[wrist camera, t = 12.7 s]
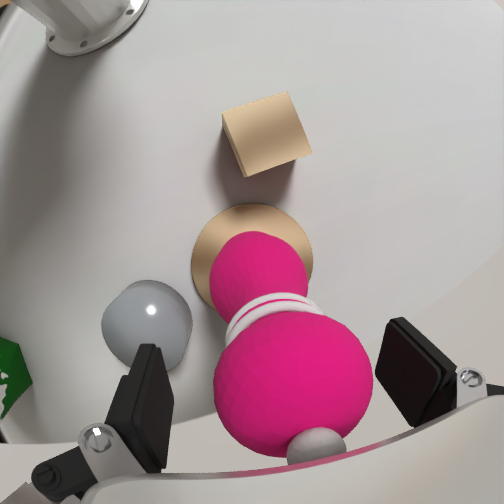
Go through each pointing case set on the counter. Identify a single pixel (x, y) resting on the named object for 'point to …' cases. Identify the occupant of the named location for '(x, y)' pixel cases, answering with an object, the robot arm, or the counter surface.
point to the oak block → (265, 134)
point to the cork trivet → (239, 222)
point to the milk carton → (11, 375)
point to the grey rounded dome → (147, 322)
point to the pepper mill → (283, 356)
